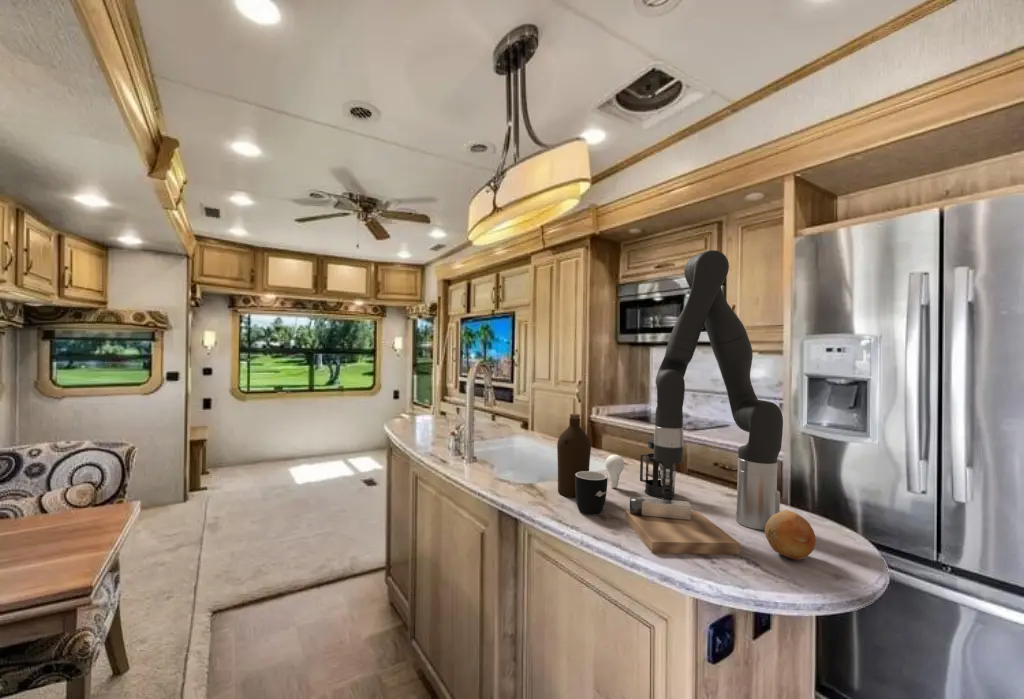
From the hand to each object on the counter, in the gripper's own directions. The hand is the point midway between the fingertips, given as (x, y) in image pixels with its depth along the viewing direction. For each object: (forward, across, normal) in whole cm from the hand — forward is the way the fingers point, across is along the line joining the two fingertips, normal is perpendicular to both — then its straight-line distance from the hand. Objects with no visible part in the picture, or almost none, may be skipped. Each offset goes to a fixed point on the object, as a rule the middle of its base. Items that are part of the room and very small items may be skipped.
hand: (667, 507), depth 119 cm
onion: (+4, -11, -26) cm, 29 cm away
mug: (+4, 0, +20) cm, 20 cm away
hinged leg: (+1, -4, +2) cm, 5 cm away
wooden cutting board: (+3, -9, -2) cm, 10 cm away
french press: (+4, +24, +3) cm, 25 cm away
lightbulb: (+4, +24, +17) cm, 29 cm away
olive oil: (+4, +12, +29) cm, 31 cm away
